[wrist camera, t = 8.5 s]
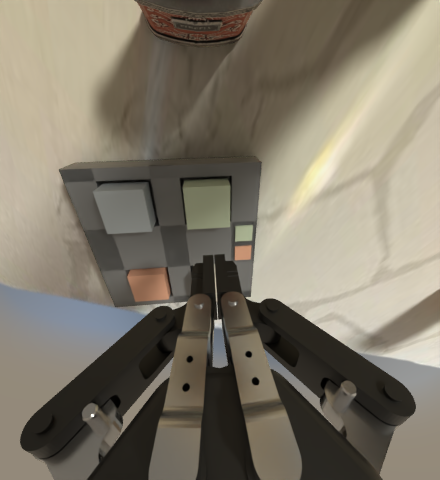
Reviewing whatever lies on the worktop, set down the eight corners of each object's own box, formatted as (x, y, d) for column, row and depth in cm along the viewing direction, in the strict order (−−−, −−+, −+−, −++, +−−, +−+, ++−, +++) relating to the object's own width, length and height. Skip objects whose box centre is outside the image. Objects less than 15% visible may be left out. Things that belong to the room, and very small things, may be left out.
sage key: (227, 178, 22) (230, 185, 20) (227, 216, 24) (229, 227, 22) (184, 179, 21) (182, 187, 19) (188, 218, 24) (187, 229, 22)
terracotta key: (166, 261, 28) (163, 274, 26) (171, 285, 30) (169, 299, 28) (132, 263, 28) (127, 276, 26) (140, 288, 30) (135, 301, 28)
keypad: (254, 156, 23) (262, 162, 20) (246, 282, 33) (250, 297, 30) (74, 162, 22) (57, 170, 19) (122, 291, 32) (114, 308, 29)
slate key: (148, 181, 21) (142, 189, 19) (156, 220, 24) (152, 231, 21) (103, 183, 21) (92, 191, 19) (115, 222, 23) (107, 234, 21)
